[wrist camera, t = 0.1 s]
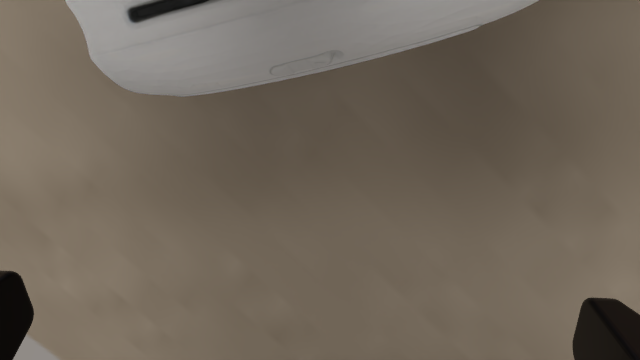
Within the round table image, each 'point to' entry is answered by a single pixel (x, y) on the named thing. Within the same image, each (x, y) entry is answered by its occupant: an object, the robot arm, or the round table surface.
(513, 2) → the photo printer
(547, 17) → the round table surface
